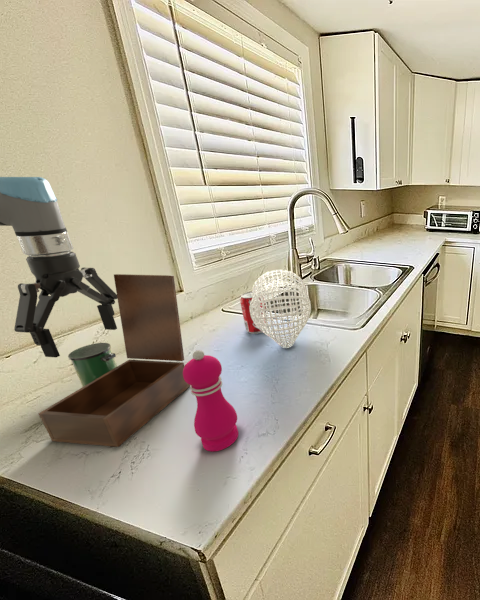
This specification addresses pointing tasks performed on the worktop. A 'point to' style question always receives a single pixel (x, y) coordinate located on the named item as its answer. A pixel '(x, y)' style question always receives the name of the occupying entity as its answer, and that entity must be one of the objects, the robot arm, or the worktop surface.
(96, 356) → the green pot
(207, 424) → the pepper mill
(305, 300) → the heart
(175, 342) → the lid
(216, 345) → the worktop surface
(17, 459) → the worktop surface
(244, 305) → the soda can
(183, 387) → the chest
